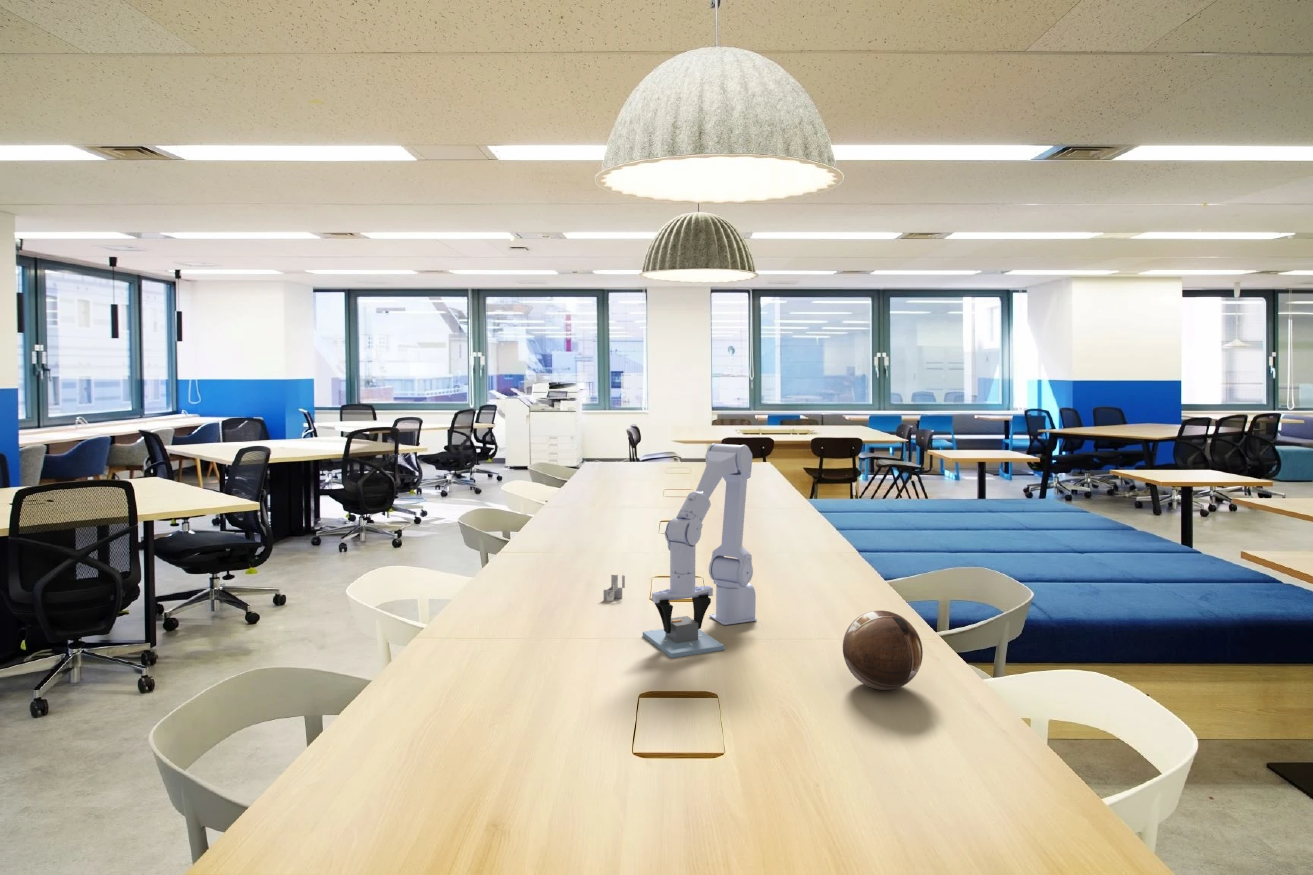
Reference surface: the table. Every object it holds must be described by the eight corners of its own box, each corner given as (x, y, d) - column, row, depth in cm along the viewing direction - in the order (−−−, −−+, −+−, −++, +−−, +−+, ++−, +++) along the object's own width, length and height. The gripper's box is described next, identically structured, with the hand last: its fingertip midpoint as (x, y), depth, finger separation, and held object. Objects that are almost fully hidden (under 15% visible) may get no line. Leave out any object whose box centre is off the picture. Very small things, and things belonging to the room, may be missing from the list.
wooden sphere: (826, 679, 161) (828, 606, 160) (886, 668, 167) (888, 598, 166) (874, 708, 147) (876, 628, 146) (938, 695, 153) (940, 618, 152)
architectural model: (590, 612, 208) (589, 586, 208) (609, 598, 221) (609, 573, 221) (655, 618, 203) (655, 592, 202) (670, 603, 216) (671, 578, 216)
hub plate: (692, 629, 193) (692, 614, 193) (724, 649, 178) (724, 634, 178) (642, 636, 188) (642, 620, 187) (671, 658, 173) (671, 641, 173)
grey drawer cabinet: (687, 632, 187) (687, 614, 187) (698, 640, 182) (698, 621, 182) (665, 636, 185) (665, 617, 184) (675, 643, 180) (676, 624, 179)
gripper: (702, 564, 188) (702, 620, 189) (646, 570, 182) (646, 628, 183) (717, 570, 182) (717, 629, 183) (659, 577, 176) (659, 638, 177)
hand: (682, 629), depth 183 cm, fingers open, 7 cm apart
